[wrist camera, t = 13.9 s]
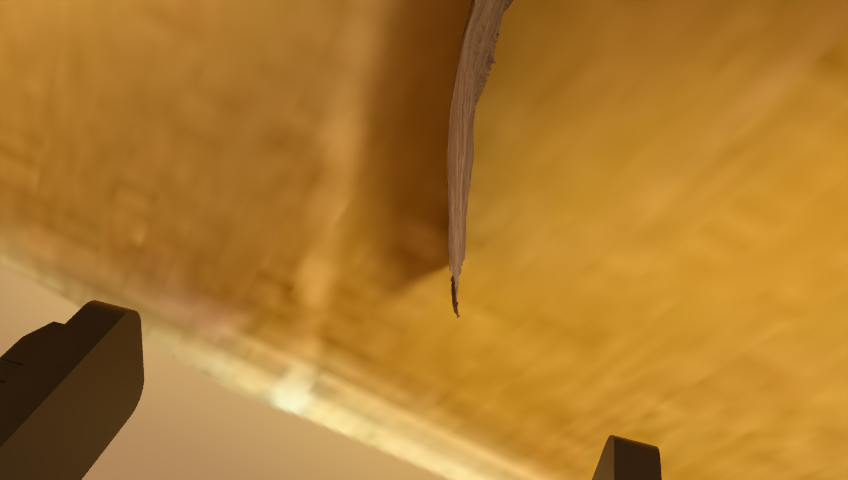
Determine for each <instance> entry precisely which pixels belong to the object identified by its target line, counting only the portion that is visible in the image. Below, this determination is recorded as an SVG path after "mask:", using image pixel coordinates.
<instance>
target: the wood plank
mask: <svg viewBox="0 0 848 480" xmlns="http://www.w3.org/2000/svg"><path fill="white" fill-rule="evenodd" d="M512 1H513V0H473V1H472V4H471V8H470V11H469V15H468V18H467V22H466V25H465V29H464V33H463V37H462V41H461V45H460V50H459V57H458V66H457V70H456V77H455V83H454V89H453V95H452V101H451V108H450V121H449V134H448V151H447V183H448V208H449V242H448V247H449V255H450V260H449V270H450V272H451V273H452V275H453V276H452V278H451V281H452V302H453V308H454V312H455V313H456V314H457V318H458V317H459V316H460V315H459V313H458V309H457V306H458V302H457V293H458V284H459V275H460V273H461V266H463V264H462V262H463V260H464V259H465V237H466V236H465V232H466V212H467V205H468V204H467V201H468V193H469V185H470V179H471V171H472V163H473V121H474V113H475V105H476V103H477V102H478V100H479V96H480V94H481V93H482V90H483V88H484V86H485V83H486V81H487V76H489V75H488V71H489V70H491V68H490V65H491V64H492V63H496V61H495V60H494V49H495V43H496V39H497V37H498V35H499V33H498V32H499V27H500V24H501V18H502V15H503V12H504V11H505V10H506V9H507V8H508V6H509V5H510V4H511V3H512Z"/></svg>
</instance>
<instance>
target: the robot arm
mask: <svg viewBox="0 0 848 480" xmlns="http://www.w3.org/2000/svg"><path fill="white" fill-rule="evenodd" d="M143 385H144V368H143V350H142V332H141V319H140V315H139V314H138V312H137V311H135V310H131V309H127V308H123V307H119V306H115V305H111V304H108V303H104V302H100V301H96V300H93V301H90V302H88V303H87V304H85V305H84V306H83V307H82V308H81V309H80V310H79V311H78V312H77V313H76V314H75V315H74V316H73V317H72V318H71V319H70V320H69V321H68V322H67V323H66V324H61V323H57V322H52V323H50V324H48V325H46V326H44V327H42V328H40V329H38V330H36V331H34V332H32V333H30V334H27V335H25V336H24V337H22V338H21V339H20V340H19V341H18V342H17V343H15V344H14V345H13V346H12V347H11V348H10V349H9V350H8V351H7V352H6V353H5V354H4V355H2V356H1V357H0V480H82V478H83V477H84V476H85V474H86V473H87V472H88V471H89V469H90V468H91V467H92V465H93V464H94V463H95V461H96V460H97V459H98V457H99V456H100V455H101V454H102V452H103V451H104V450H105V449H106V447H107V446H108V445H109V443H110V442H111V441H112V439H113V438H114V437H115V436H116V434H117V433H118V431H119V430H120V429H121V428H122V427H123V425H124V424H125V423H126V421H127V420H128V419H129V417H130V416H131V415H132V413H133V412H134V410H135V408H136V406H137V404H138V402H139V400H140V396H141V394H142V390H143ZM592 480H662V478H661V464H660V453H659V449H658V447H656V446H652V445H649V444H645V443H641V442H637V441H633V440H629V439H625V438H621V437H617V436H614V435H610V436H609V438H608V440H607V442H606V444H605V447H604V449H603V452H602V455H601V457H600V460H599V463H598V465H597V468H596V470H595V473H594V476H593V478H592Z"/></svg>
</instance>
